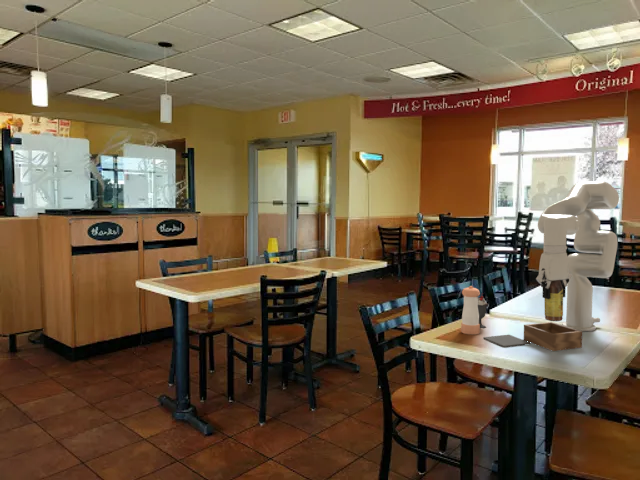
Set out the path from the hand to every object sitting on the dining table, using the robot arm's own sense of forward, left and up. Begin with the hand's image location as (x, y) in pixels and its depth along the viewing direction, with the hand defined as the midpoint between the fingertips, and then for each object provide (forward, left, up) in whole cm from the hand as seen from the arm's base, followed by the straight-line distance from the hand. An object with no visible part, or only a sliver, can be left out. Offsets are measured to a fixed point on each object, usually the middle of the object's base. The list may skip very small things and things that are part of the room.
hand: (553, 297), depth 179 cm
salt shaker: (+20, -24, -18) cm, 36 cm away
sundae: (+11, -30, -18) cm, 36 cm away
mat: (+15, -8, -18) cm, 24 cm away
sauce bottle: (0, 0, -9) cm, 9 cm away
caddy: (+1, 0, -18) cm, 18 cm away
